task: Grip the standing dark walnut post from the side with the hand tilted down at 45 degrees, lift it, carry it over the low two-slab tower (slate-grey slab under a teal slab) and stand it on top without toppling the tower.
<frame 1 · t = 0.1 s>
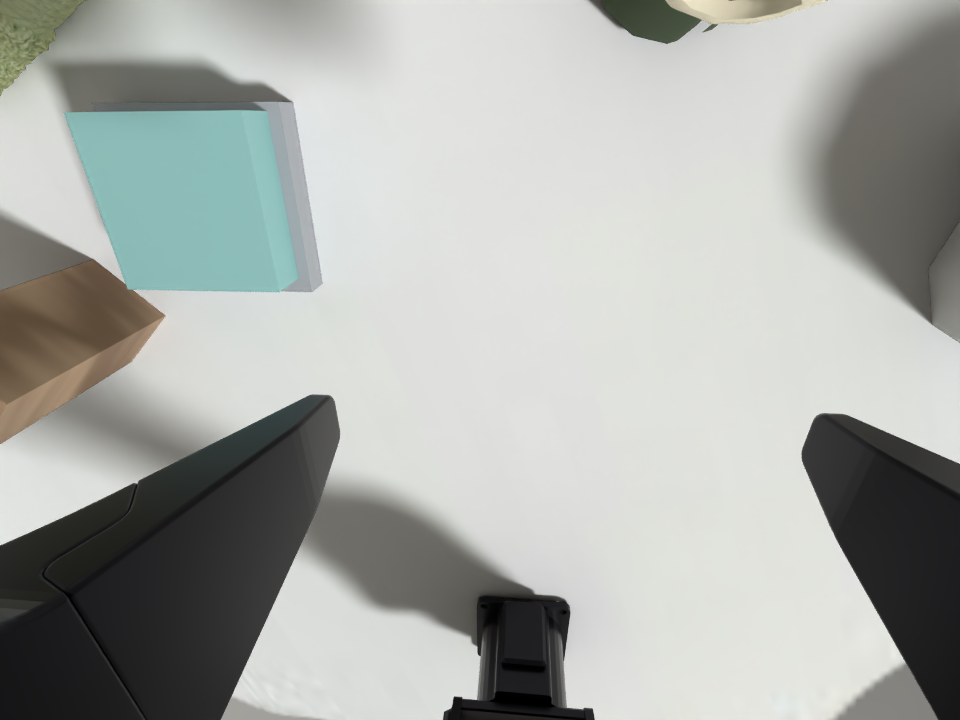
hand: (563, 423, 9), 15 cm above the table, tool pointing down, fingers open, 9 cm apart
slate slab: (234, 197, 23), on the table, touching teal slab
walnut pillar: (113, 313, 26), on the table
teal slab: (207, 200, 21), point 1 cm above the table, touching slate slab
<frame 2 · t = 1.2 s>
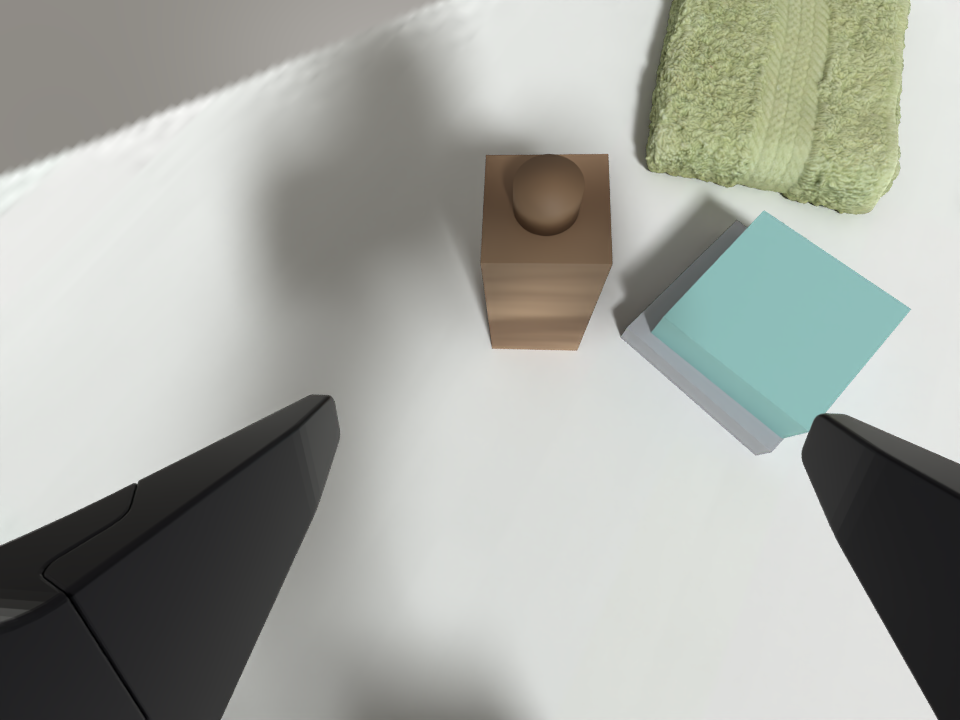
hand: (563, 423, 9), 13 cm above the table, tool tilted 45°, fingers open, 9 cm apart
slate slab: (733, 341, 24), on the table, touching teal slab
walnut pillar: (534, 310, 24), on the table
washcloth: (761, 84, 28), on the table
teal slab: (761, 329, 22), point 1 cm above the table, touching slate slab
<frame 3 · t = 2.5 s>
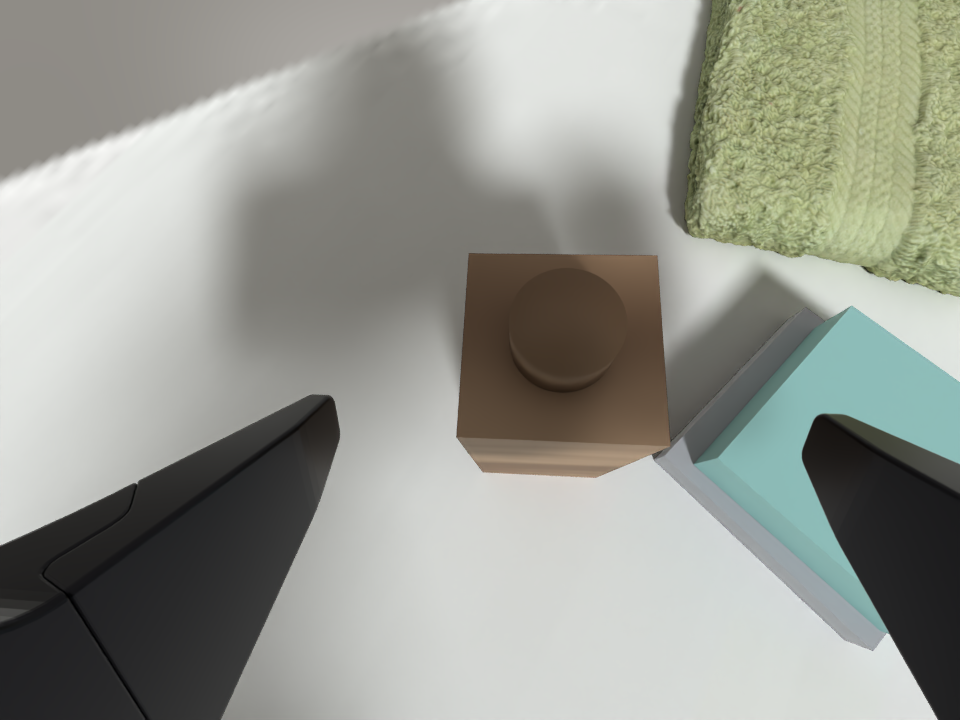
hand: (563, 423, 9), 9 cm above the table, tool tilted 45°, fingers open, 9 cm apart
slate slab: (801, 465, 18), on the table, touching teal slab
walnut pillar: (539, 419, 18), on the table
washcloth: (824, 121, 22), on the table
teal slab: (844, 465, 16), point 1 cm above the table, touching slate slab
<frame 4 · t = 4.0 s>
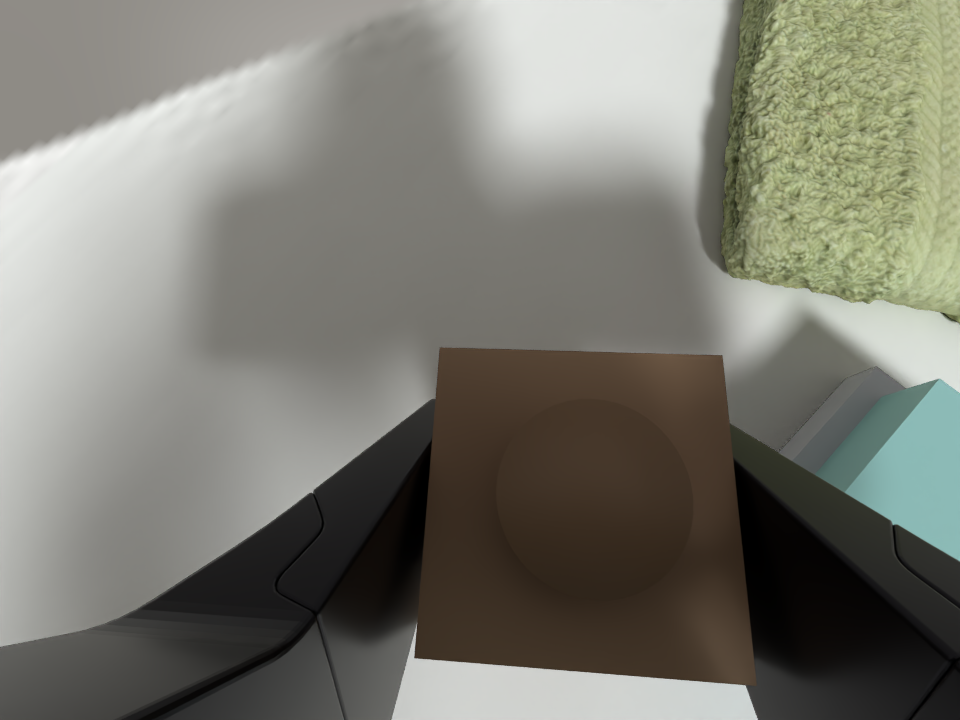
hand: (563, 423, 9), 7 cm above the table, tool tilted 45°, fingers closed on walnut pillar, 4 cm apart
slate slab: (868, 563, 14), on the table, touching teal slab
walnut pillar: (542, 503, 15), on the table, touching gripper
washcloth: (882, 131, 19), on the table
teal slab: (924, 581, 12), point 1 cm above the table, touching slate slab
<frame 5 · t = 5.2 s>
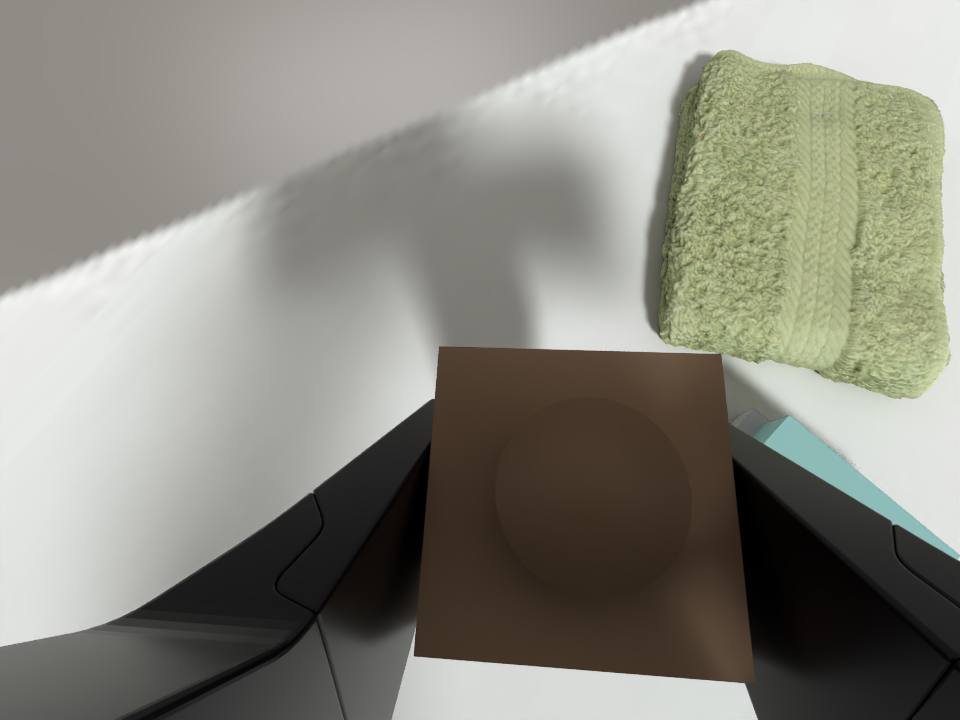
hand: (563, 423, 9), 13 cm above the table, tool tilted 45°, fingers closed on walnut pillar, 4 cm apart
slate slab: (750, 543, 21), on the table, touching teal slab
walnut pillar: (541, 502, 15), point 7 cm above the table, touching gripper
washcloth: (780, 226, 25), on the table
teal slab: (783, 546, 19), point 1 cm above the table, touching slate slab
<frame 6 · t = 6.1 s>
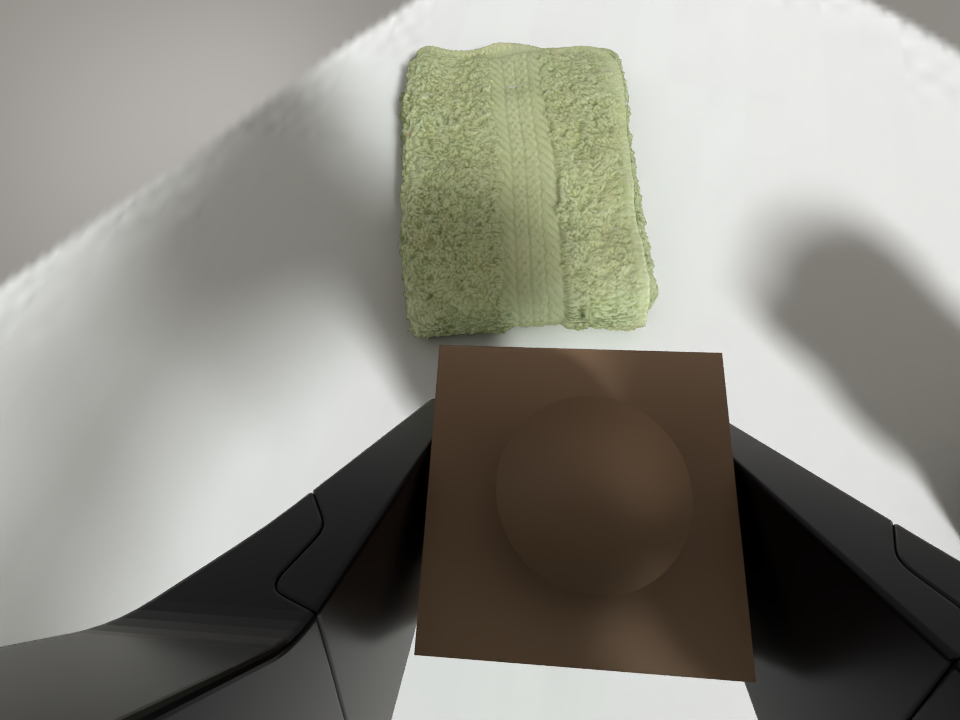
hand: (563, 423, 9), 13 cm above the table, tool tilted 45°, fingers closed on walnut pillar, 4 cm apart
walnut pillar: (542, 501, 15), point 7 cm above the table, touching gripper
washcloth: (516, 197, 27), on the table
when the fingers open (11 cm above the table, at t = 6.8 s): walnut pillar moves 1 cm, resting on teal slab.
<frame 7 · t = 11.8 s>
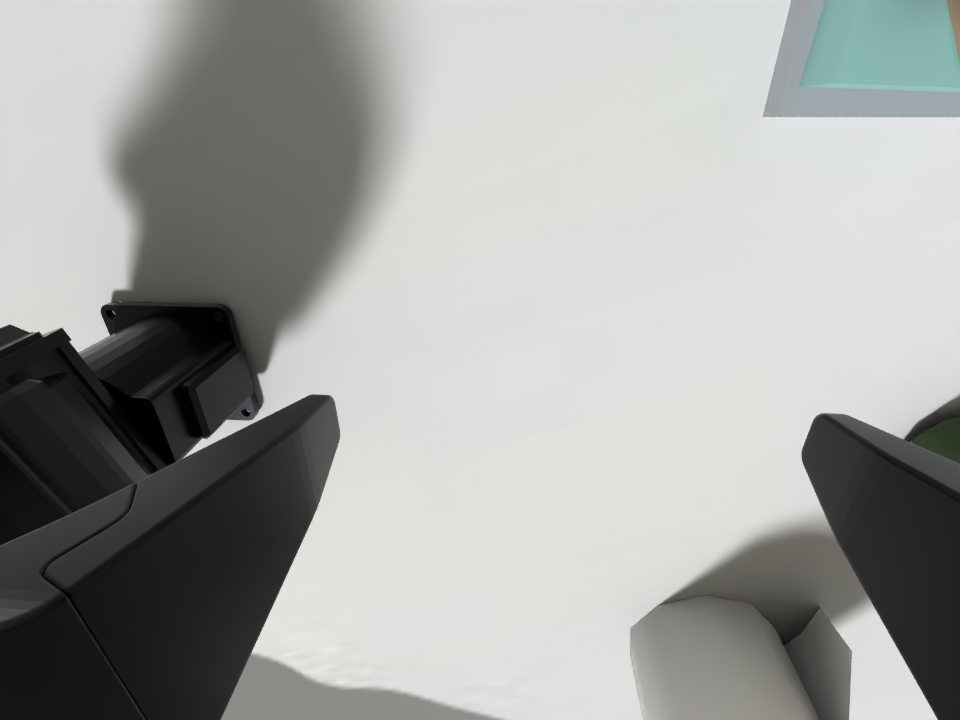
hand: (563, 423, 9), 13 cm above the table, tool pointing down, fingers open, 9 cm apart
toilet tissue: (718, 632, 32), on the table
character mug: (954, 451, 24), on the table
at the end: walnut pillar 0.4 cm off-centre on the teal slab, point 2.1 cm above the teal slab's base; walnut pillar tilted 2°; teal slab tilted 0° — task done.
